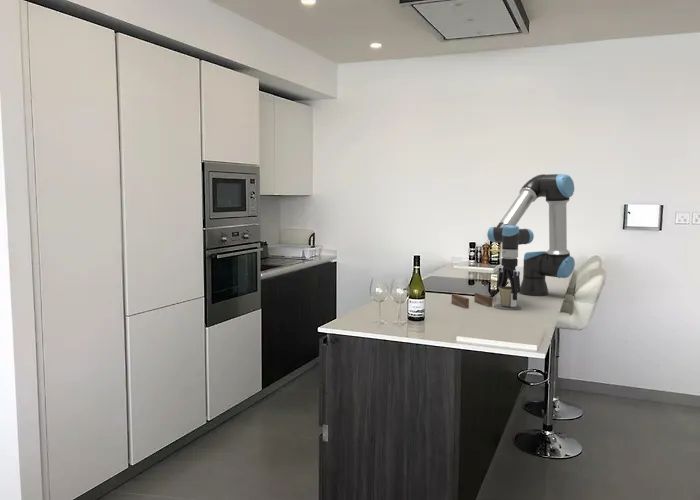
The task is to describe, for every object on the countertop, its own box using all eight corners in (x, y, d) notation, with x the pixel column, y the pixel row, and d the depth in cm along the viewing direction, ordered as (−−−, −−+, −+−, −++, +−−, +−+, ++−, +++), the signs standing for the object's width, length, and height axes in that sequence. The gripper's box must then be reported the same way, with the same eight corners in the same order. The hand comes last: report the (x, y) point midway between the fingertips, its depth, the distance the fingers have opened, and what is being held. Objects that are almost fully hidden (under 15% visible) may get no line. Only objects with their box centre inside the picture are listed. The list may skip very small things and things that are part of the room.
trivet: (511, 304, 293) (511, 303, 293) (527, 309, 281) (527, 308, 280) (488, 305, 288) (488, 304, 288) (503, 310, 276) (503, 309, 276)
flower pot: (518, 307, 279) (519, 289, 278) (498, 306, 281) (498, 288, 280) (517, 304, 288) (517, 286, 287) (497, 303, 290) (497, 285, 289)
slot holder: (477, 301, 298) (478, 292, 298) (492, 306, 286) (492, 297, 286) (451, 303, 293) (451, 294, 293) (465, 308, 281) (465, 298, 281)
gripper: (490, 255, 291) (488, 301, 293) (516, 260, 271) (514, 309, 273) (503, 255, 293) (501, 300, 296) (529, 260, 273) (528, 308, 276)
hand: (507, 304), depth 284 cm, fingers closed on flower pot, 8 cm apart
